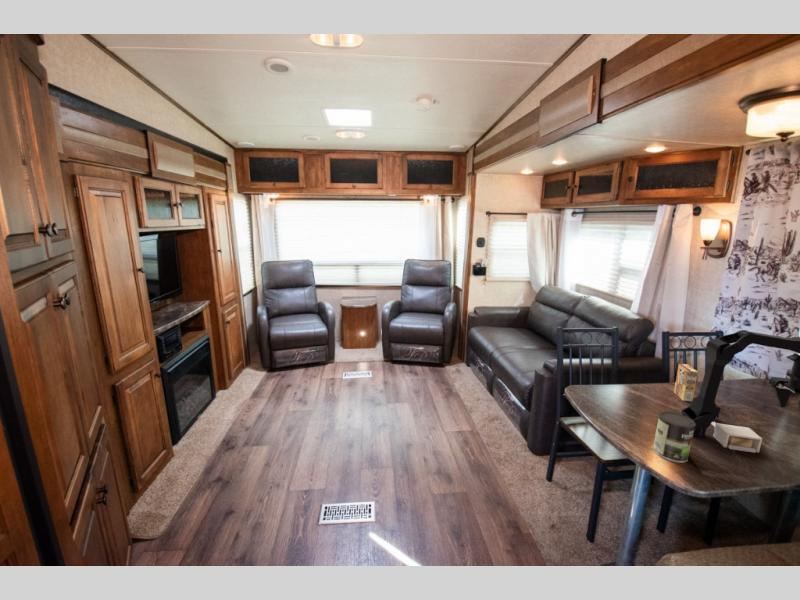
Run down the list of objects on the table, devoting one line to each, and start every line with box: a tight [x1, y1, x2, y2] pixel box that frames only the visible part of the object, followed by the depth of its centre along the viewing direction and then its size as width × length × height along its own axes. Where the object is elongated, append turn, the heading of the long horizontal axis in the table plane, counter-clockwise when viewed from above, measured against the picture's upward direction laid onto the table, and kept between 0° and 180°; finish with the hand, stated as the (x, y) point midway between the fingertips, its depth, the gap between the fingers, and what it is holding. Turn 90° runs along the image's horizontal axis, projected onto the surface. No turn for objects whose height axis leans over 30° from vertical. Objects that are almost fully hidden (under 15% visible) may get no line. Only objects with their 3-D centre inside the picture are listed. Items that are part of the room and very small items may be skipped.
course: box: [712, 422, 763, 453], centre depth 127 cm, size 10×24×7 cm, turn 163°
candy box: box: [673, 363, 699, 402], centre depth 163 cm, size 9×4×15 cm, turn 165°
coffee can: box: [652, 410, 696, 464], centre depth 122 cm, size 10×10×14 cm
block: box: [727, 436, 753, 448], centre depth 127 cm, size 6×6×4 cm
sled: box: [710, 421, 757, 454], centre depth 134 cm, size 8×24×5 cm, turn 163°
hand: (792, 413), depth 123 cm, fingers open, 9 cm apart
